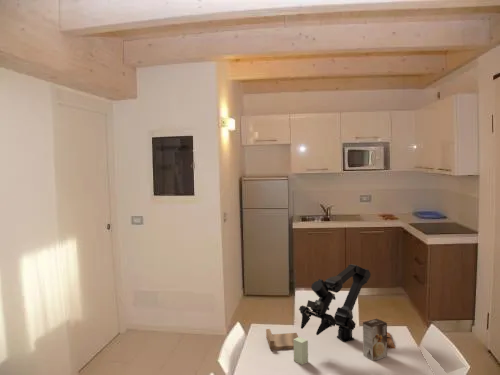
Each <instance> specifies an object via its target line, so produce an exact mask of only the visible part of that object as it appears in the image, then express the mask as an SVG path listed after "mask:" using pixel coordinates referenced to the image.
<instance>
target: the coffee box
mask: <svg viewBox="0 0 500 375" xmlns="http://www.w3.org/2000/svg"><path fill="white" fill-rule="evenodd" d="M387 324H388V323H387V321H383V320H382V319H379V318H374V319H370V320H367V321H363V322H362V337H363V338H362V340H363V341H362V342H363V343H362V345H363V346H362V349H363V354H362V355H363V357H365V358H367V359H369V360H371V361H372V362H374V361H378V360H381V359H383V358H386V357H388V348H387V332H388V325H387Z"/></svg>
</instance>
